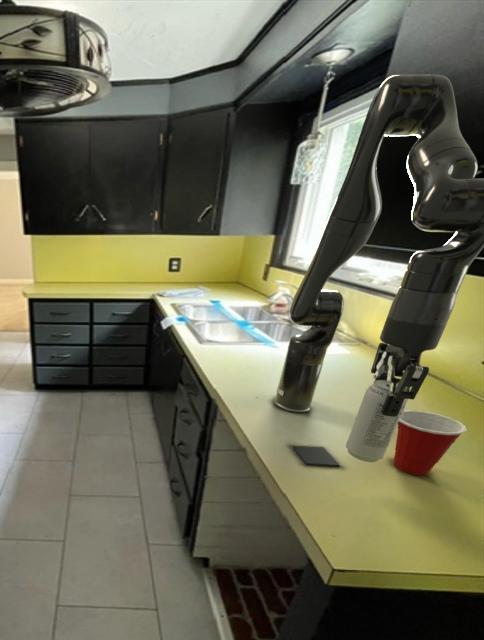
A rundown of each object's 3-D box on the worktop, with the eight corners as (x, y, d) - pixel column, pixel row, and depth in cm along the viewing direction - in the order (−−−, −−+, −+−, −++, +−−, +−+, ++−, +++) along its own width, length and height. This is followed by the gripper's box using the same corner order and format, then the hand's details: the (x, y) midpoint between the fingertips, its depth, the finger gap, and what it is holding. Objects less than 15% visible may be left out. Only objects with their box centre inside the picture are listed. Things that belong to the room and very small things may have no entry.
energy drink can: (370, 447, 73) (397, 379, 67) (388, 465, 68) (420, 393, 62) (338, 444, 74) (362, 377, 68) (354, 462, 69) (381, 391, 62)
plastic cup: (387, 447, 87) (405, 402, 82) (447, 470, 79) (472, 422, 74) (370, 463, 81) (389, 416, 76) (434, 490, 73) (459, 439, 68)
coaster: (292, 447, 86) (292, 445, 86) (322, 448, 86) (323, 447, 86) (306, 464, 80) (306, 463, 80) (339, 466, 80) (339, 465, 79)
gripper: (471, 330, 52) (424, 430, 59) (424, 309, 65) (390, 394, 72) (407, 325, 55) (370, 421, 62) (374, 306, 67) (346, 388, 74)
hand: (381, 406), depth 67 cm, fingers closed on energy drink can, 6 cm apart
